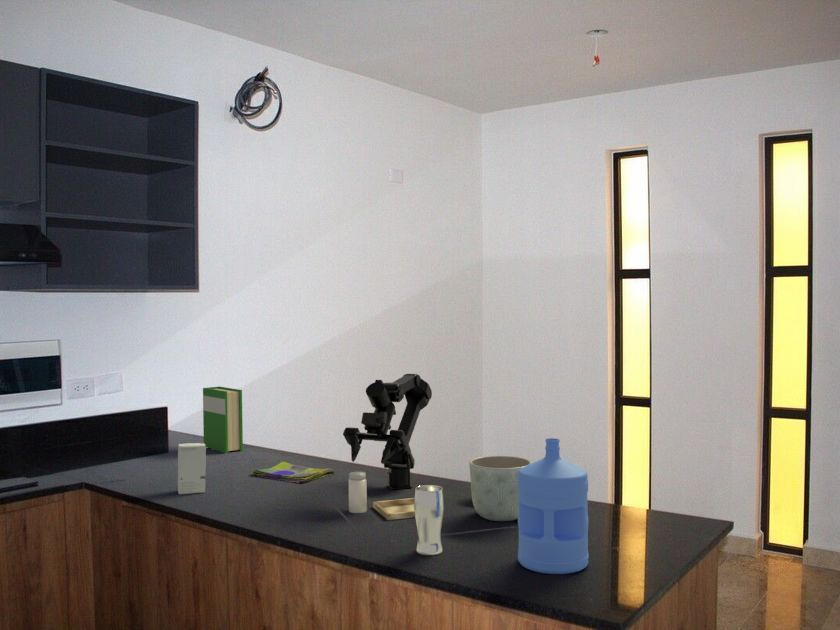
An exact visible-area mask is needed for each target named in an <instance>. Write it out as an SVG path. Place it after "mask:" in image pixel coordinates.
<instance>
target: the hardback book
mask: <svg viewBox="0 0 840 630" xmlns="http://www.w3.org/2000/svg"><path fill="white" fill-rule="evenodd" d="M202 408H203V409H202V413H203V416H202V417H203V421H202V422H203V426H202V427H203V443H204V444H205V445H206V447H208V448H211V449H214V450H217V451H216V452H218V451H220V452H219V453H222V452H224V453H223V454H225V453H227V454H229V452H231V451H238V450H239V451H238V452H243V451H244V447H243V446H244V445H243V443H244V440H243V437H244V436H243V431H244V430H243V429H244V428H243V390H242V389H238V388H230V387H225V386H210V387H203V388H202ZM211 449H210V450H211ZM214 450H213V451H214Z"/></svg>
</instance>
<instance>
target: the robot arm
mask: <svg viewBox="0 0 840 630" xmlns="http://www.w3.org/2000/svg"><path fill="white" fill-rule="evenodd" d="M365 394H366V396H367V397H368V400H369V403H370V404H371V407H373V408H374V411H373V412H362V416H361V422H360V423H361V425H364V428H363V429H364V430H365V431H366V432H361V431H360V429H359V427H345V428H344V430H343V432H342V435H343V437H344V439H345V441H346V443H347V445H349V446H350V453H351V454H350V455H351V461H352V463H354V462H355V461H356V460H357V459H356V458H357V456H358V455H359V453H360V450H361V447H362V446H361V445H362V442H363V441H374V442H385V445H384V448H383V451H382V456H381V460H380V463H381V464H382V465H383V467H384V469H388V471H387V472H386V486H387V487H388V488H390V489H392V490H402V489H412V488H413V486H412V485H411V470H412V469H413V470H414V468H415V458H414V456H413V454H412V453H413V452H412V449H411V447H410V442H411V439H412V435H413V433H414V429H415V427H416V424H417V422H418V418H419V416H420V412H421V411H422V410H423V409H424V408H426V407H427V406H428V404H429V402H430V401H431V399H432V395H433V391H432V389H431V386H430V384H429V383H428V382H427V381H425V380H424V379H422V378H421V376H420V375H419V374H418V373H405V374H404V375H402V376H401V377H399V378H398V379H396V380H395V381H392V382H383V380H382V379H375V381H374V382H373V383H370V384H369V385H368V386H367V387H366V389H365ZM404 398H405V401H406V407H405V408H404V411H403V415H402V417H401V420H400V422H399V424H398V425H399V426H398V427H397V429H392V426H391V422H392V419H393V416H395V415H397V411H396V405H395V404H394V403H400V402H401V401H402V400H403V399H404ZM388 431H389V434H388Z"/></svg>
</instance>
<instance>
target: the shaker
mask: <svg viewBox="0 0 840 630" xmlns="http://www.w3.org/2000/svg"><path fill="white" fill-rule="evenodd" d="M366 475H367V474H366V472H365V471H352V472H351V471H350V472H349V473H348V477H349V478H348V480H347V481H348V512H349V513H352V514H364V513H366V512H367V511H368V510H367V509H368V504H367V503H368V502H367V500H368V498H367V497H368V494H367V491H368V490H367V485H368V484H367V482H368V481H367V478H366V477H367V476H366Z"/></svg>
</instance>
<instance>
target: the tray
mask: <svg viewBox="0 0 840 630" xmlns="http://www.w3.org/2000/svg"><path fill="white" fill-rule="evenodd" d="M414 500H415V497H411V498H410V497H409V498H399V499H390V500H387V499H386V500H378V501H372V508H373V509H374V510H375V511H376V512H377V513H379V514H380V515H381V516H383V518H384V519H385V520H387V521H392V520H403V519H411V518H412V519H413V518H414V519H415V510H414Z"/></svg>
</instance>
